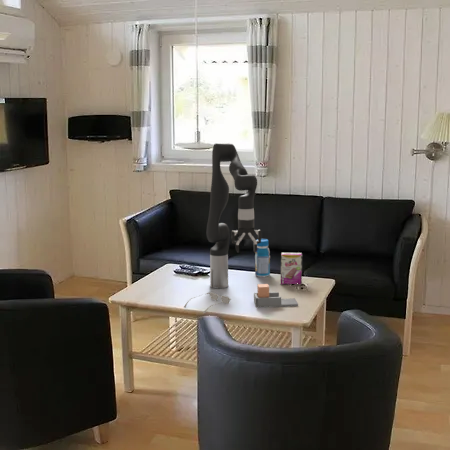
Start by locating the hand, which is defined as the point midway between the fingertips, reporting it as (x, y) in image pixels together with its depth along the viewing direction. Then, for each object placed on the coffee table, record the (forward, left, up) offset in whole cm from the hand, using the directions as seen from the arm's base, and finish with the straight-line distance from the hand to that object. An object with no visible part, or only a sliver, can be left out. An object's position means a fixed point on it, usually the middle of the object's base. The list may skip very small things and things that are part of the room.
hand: (246, 252), depth 315 cm
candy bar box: (+27, +33, -26) cm, 50 cm away
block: (+8, 0, -25) cm, 26 cm away
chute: (+14, 0, -26) cm, 29 cm away
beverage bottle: (+14, +51, -26) cm, 59 cm away
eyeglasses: (-19, +1, -27) cm, 33 cm away
